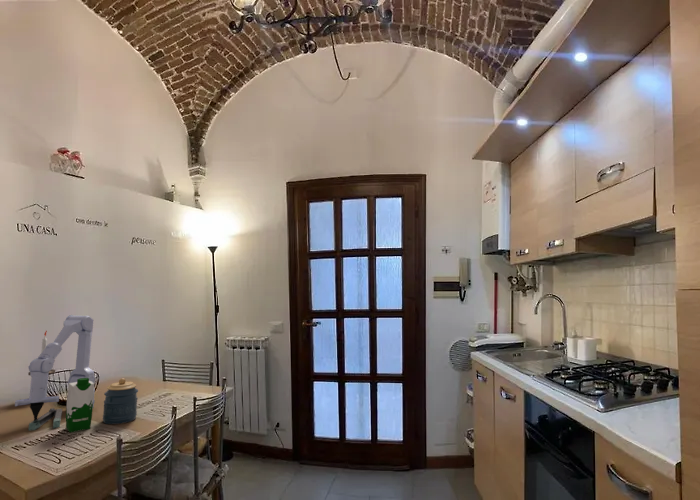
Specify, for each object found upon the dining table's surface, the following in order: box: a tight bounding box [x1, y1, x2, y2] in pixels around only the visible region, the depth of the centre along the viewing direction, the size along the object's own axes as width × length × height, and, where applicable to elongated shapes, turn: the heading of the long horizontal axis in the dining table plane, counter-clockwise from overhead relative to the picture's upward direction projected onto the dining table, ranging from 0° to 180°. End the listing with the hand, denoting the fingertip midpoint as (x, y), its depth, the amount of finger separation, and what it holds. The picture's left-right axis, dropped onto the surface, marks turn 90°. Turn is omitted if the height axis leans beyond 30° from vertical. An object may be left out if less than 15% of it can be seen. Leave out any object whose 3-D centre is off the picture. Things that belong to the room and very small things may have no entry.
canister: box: [102, 377, 139, 425], centre depth 178 cm, size 13×13×18 cm
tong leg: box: [28, 411, 54, 431], centre depth 170 cm, size 2×16×3 cm, turn 15°
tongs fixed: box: [48, 407, 63, 429], centre depth 173 cm, size 5×20×3 cm, turn 33°
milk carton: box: [65, 378, 95, 433], centre depth 166 cm, size 9×9×20 cm
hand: (35, 421), depth 169 cm, fingers closed, pressing on tong leg
